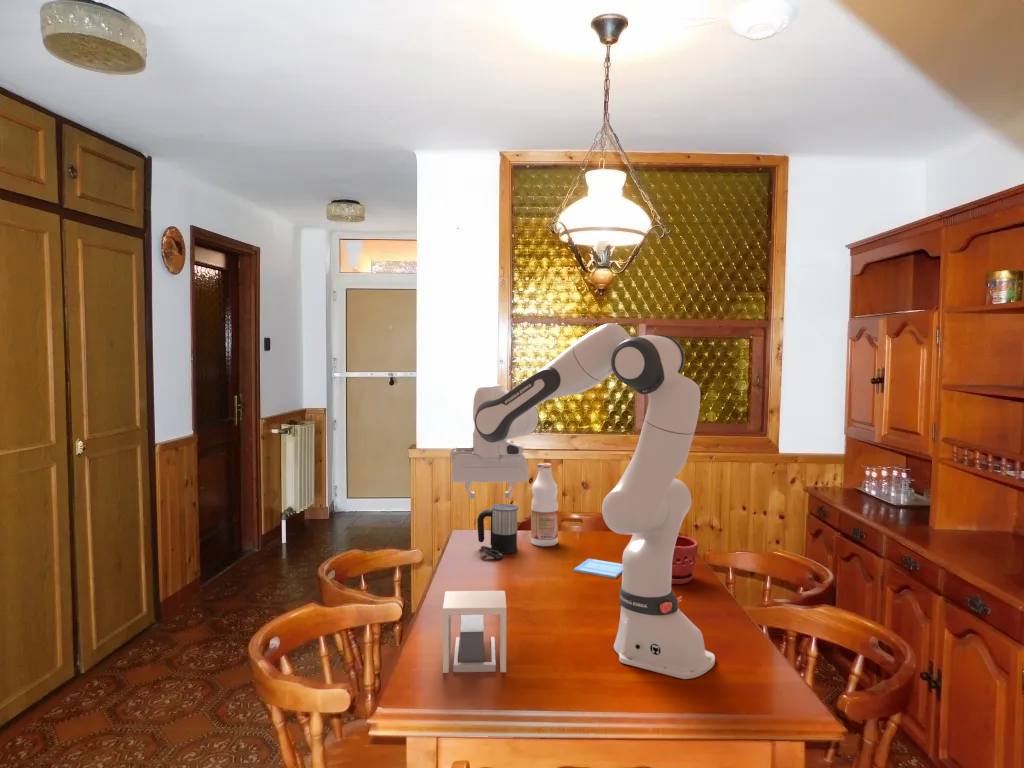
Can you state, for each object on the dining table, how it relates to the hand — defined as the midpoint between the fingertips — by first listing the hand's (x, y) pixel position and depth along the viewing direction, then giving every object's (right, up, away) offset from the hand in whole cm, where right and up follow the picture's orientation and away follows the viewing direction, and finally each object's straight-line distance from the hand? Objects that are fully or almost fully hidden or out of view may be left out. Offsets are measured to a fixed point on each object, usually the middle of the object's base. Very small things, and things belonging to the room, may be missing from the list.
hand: (489, 498), depth 180 cm
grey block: (-3, -31, -26) cm, 41 cm away
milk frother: (+2, -27, +49) cm, 55 cm away
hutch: (-2, -31, -26) cm, 40 cm away
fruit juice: (+17, -26, +60) cm, 68 cm away
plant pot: (+54, -28, +24) cm, 65 cm away
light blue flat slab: (+33, -28, +33) cm, 54 cm away
